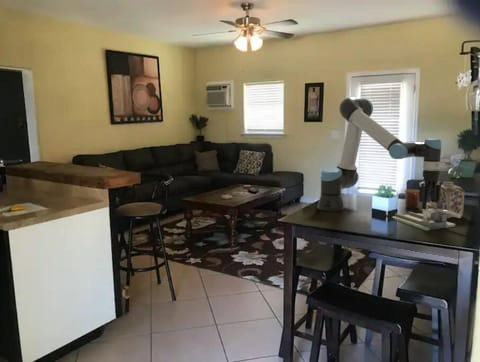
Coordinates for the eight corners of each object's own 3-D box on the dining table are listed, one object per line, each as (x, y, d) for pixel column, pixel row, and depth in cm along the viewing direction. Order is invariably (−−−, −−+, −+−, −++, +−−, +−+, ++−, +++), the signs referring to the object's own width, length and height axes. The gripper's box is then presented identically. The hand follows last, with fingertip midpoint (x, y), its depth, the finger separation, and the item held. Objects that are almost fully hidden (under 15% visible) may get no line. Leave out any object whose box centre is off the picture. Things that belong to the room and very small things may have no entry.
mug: (402, 206, 231) (403, 189, 230) (417, 206, 230) (418, 189, 228) (407, 210, 220) (408, 193, 218) (423, 211, 218) (424, 193, 216)
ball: (432, 222, 185) (430, 228, 186) (437, 221, 186) (435, 227, 187) (427, 219, 187) (425, 225, 188) (432, 219, 188) (430, 224, 190)
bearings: (430, 222, 195) (430, 211, 194) (434, 221, 196) (435, 211, 195) (441, 226, 188) (442, 215, 187) (446, 225, 189) (447, 214, 188)
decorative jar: (447, 218, 202) (450, 184, 199) (429, 213, 213) (431, 181, 210) (463, 215, 207) (466, 182, 204) (445, 211, 217) (447, 179, 215)
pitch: (392, 218, 203) (392, 213, 202) (418, 215, 209) (419, 210, 208) (426, 230, 181) (426, 225, 181) (455, 226, 187) (455, 221, 187)
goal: (419, 226, 188) (420, 220, 187) (435, 224, 191) (436, 218, 190) (429, 230, 182) (430, 223, 182) (445, 227, 185) (446, 221, 185)
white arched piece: (411, 218, 197) (412, 204, 196) (426, 216, 201) (427, 202, 200) (445, 229, 178) (446, 213, 177) (462, 226, 181) (463, 211, 180)
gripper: (424, 171, 187) (421, 218, 191) (450, 169, 193) (446, 214, 197) (412, 169, 194) (409, 214, 198) (437, 167, 200) (435, 211, 204)
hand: (428, 214), depth 197 cm, fingers closed on white arched piece, 4 cm apart
